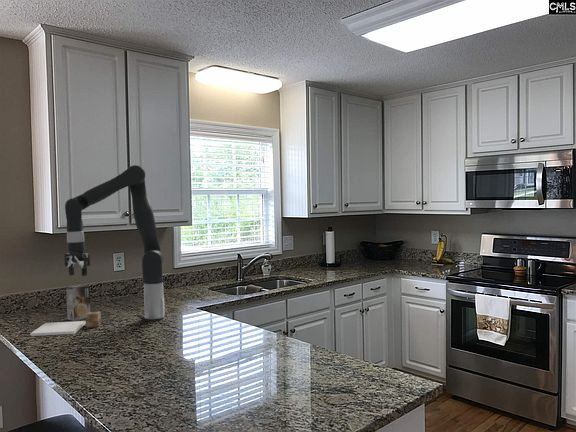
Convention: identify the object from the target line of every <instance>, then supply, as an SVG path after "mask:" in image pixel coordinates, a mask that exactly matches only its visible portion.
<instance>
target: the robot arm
mask: <svg viewBox="0 0 576 432" xmlns="http://www.w3.org/2000/svg"><path fill="white" fill-rule="evenodd" d="M146 176H147V175H146V171H145V169H144V168H143V167H142V166H141V165H137V164H135V165H131V166H129V167H128V168H127V169H125V170H124V171H123V172H121V173H120V174H118V175H117V176H115V177H113V178H111V179H109V180H107V181H105V182H103V183H101V184H98V185H96V186H94V187H92V188H90V189H88V190H86V191H84V192H83V193H81V194H79V195H77V196H75V197H73V198H70V199H67V200H66V201H65V204H64V210H65V211H64V212H65V217H66V218H65V219H66V245H67V253H64V267H67V268H68V275H69V276H74V275H75V268H74V266H75V264H79V266H80V269H81V276H82V277H86V276H87V275H88V267H90V266H91V260H90V253H84V251H85V250H86V243H85V232H84V223H83V219H82V218H83V217H82V211H83V210H85V209H87V208H90V206H93V205H95V204H97V203H100V202H101V201H103V200H105V199H107V198H108V197H110V196H112V195H114V194H115V193H116V192H118V191H121V190H122V189H125V188H127V187H128V188H129V191H130V194H131V200H132V201H131V202H132V211H133V218H134V221H135V223H134V224H135V226H136V229H137V231H138V234H139V235H140V238H141V241H142V246H143V252H144V254H143V256H142V259H141V268H142V269H141V270H142V279H143V300H144V302H143V303H144V319H145V320H158V319H159V320H160V319H164V318H165V315H166V313H165V296H164V277H163V262H164V255H163V252H162V250H161V246H160V243H159V241H158V234H157V233H158V232H157V226H156V225H157V224H156V220H155V215H154V211H153V207H152V204H151V201H150V198H149V197H148V193H147V186H146Z"/></svg>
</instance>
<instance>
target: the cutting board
mask: <svg viewBox="0 0 576 432" xmlns="http://www.w3.org/2000/svg"><path fill="white" fill-rule="evenodd" d="M85 325H87V320H81V321H80V320H77V321H57V322H45V323H43V324H42V325H41V326H39V327H38V328H36V329H35V330H33V331H32V332H30V337H36V336H37V337H39V336H58V335H59V336H60V335H75V334H76V333H77V332H78V331H80V329H81V328H82V327H83V326H85Z"/></svg>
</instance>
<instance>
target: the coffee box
mask: <svg viewBox="0 0 576 432" xmlns="http://www.w3.org/2000/svg"><path fill="white" fill-rule="evenodd" d="M90 289H91V288H90V284H89V285H88V284H79V285H72V286H67V287H66V288H65V291H66V292H65V293H66V310H67V312H66V314H67V320H70V321H71V322H74V321H80V320H81V321H82V320H85V319H87V315H86V314H88V313H89V312H92V308H91V290H90Z"/></svg>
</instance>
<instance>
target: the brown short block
mask: <svg viewBox="0 0 576 432" xmlns="http://www.w3.org/2000/svg"><path fill="white" fill-rule="evenodd" d="M101 314H102V313H101V310H100V311H91V312H89V313H88V314H86V315H87V318H86V327H87V328H97V327H98V328H99V327H100V326H101V324H102V318H101V317H102V315H101Z"/></svg>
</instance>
